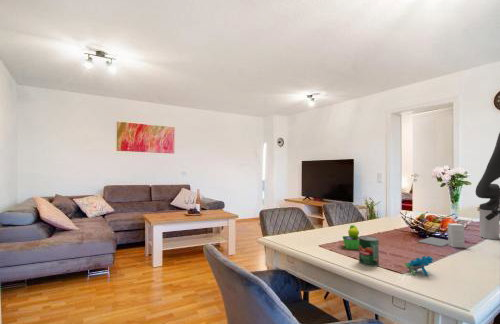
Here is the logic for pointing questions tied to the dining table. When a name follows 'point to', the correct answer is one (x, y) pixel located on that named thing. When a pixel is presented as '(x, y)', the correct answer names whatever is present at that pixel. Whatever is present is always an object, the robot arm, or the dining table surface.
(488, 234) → the robot arm
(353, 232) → the fruit basket
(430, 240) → the mat
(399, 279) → the dining table surface
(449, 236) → the skincare box
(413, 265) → the toy dinosaur
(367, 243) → the canned tomato
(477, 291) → the dining table surface
